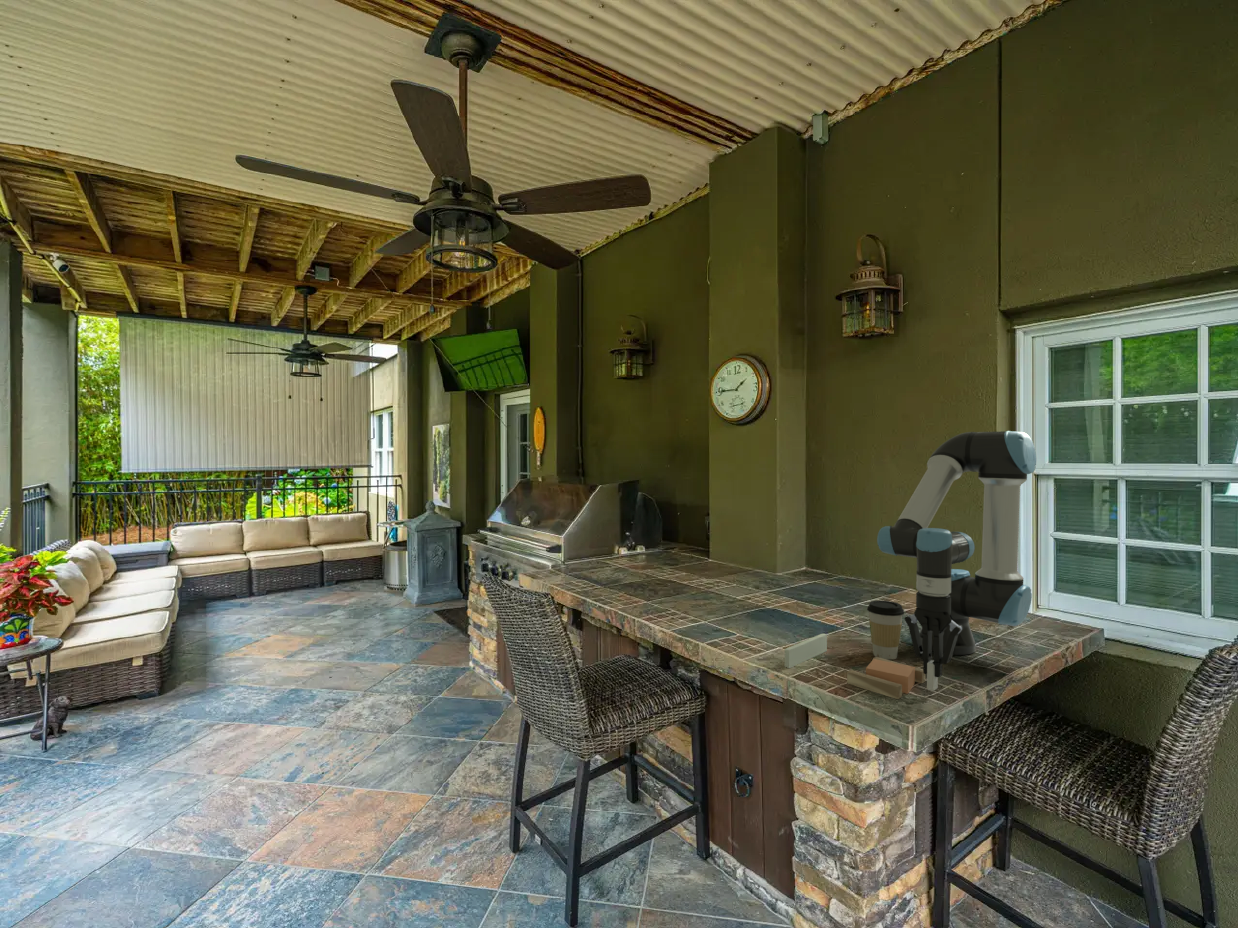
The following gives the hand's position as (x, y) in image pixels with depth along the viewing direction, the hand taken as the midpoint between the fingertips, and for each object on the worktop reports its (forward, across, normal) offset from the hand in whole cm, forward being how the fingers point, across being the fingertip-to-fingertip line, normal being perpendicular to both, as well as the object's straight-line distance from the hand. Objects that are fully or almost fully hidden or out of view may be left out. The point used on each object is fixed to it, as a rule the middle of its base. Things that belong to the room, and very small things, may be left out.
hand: (932, 688), depth 147 cm
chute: (+2, -11, 0) cm, 11 cm away
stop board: (+2, -34, 0) cm, 34 cm away
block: (+2, -10, 0) cm, 10 cm away
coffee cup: (+2, -20, +19) cm, 28 cm away
